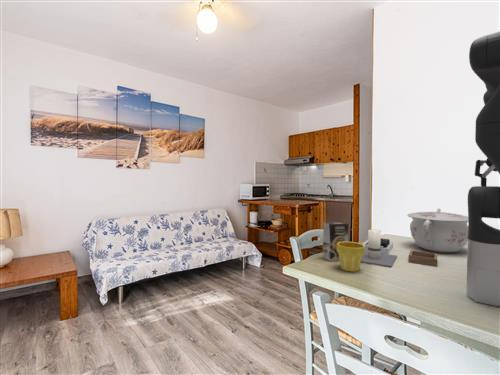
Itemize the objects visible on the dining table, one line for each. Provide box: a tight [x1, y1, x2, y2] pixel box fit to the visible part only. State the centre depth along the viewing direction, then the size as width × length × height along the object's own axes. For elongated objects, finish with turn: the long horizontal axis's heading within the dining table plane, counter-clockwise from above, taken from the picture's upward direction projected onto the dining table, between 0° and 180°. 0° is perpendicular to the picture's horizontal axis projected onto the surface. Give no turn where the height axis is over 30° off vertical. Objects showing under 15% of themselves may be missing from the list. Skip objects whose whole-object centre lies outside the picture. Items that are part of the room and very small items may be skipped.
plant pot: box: [337, 241, 365, 273], centre depth 105 cm, size 10×10×10 cm
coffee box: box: [322, 221, 349, 262], centre depth 118 cm, size 9×6×16 cm
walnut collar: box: [408, 249, 438, 267], centre depth 114 cm, size 10×10×3 cm
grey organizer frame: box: [362, 239, 394, 255], centre depth 135 cm, size 16×12×2 cm
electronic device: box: [381, 237, 391, 248], centre depth 133 cm, size 7×11×5 cm
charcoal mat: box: [360, 251, 398, 268], centre depth 118 cm, size 18×16×1 cm
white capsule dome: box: [367, 229, 382, 259], centre depth 118 cm, size 5×5×12 cm
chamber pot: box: [406, 208, 469, 254], centre depth 134 cm, size 28×28×21 cm
